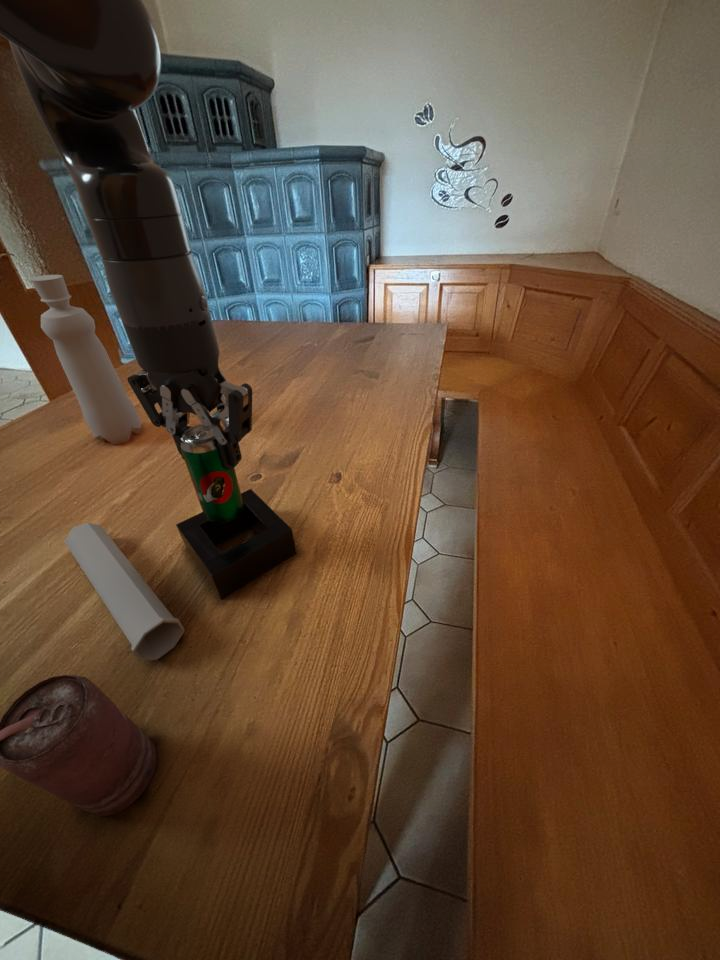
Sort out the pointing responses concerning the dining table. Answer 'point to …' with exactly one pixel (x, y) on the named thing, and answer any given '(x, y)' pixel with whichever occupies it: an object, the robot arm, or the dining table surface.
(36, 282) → the bottle
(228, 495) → the soda can
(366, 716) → the dining table surface
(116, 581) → the tube
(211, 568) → the holder
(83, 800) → the can
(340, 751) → the dining table surface
